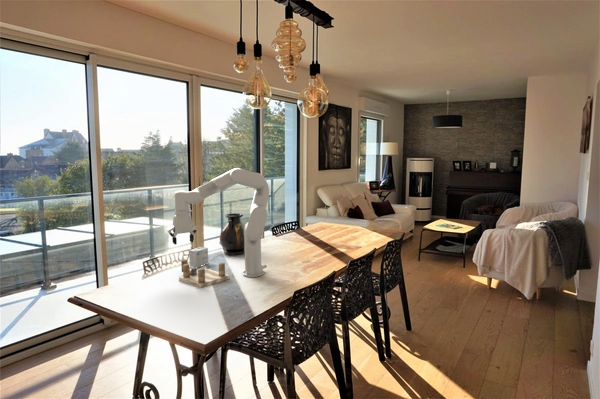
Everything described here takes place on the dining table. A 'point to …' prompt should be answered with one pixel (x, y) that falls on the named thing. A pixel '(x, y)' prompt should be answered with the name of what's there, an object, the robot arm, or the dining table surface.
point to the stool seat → (204, 276)
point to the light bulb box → (198, 256)
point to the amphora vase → (233, 235)
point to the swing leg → (193, 270)
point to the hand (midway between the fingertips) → (183, 242)
